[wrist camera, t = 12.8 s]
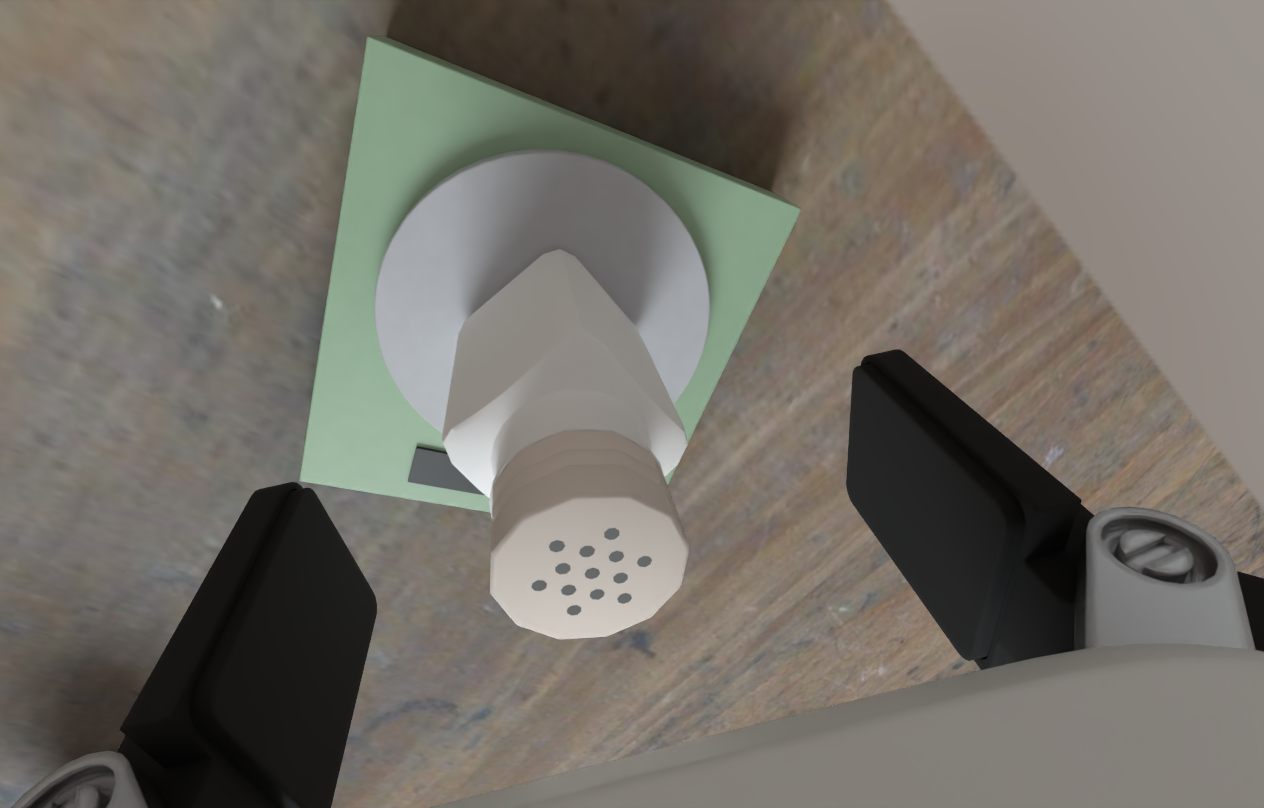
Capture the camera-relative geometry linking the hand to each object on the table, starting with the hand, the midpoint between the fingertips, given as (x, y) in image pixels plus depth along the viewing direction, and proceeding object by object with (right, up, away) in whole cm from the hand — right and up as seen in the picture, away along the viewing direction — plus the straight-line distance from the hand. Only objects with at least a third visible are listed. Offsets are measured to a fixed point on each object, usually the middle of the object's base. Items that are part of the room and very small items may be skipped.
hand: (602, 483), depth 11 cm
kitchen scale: (-3, +4, +10) cm, 11 cm away
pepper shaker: (-2, +4, +7) cm, 8 cm away
